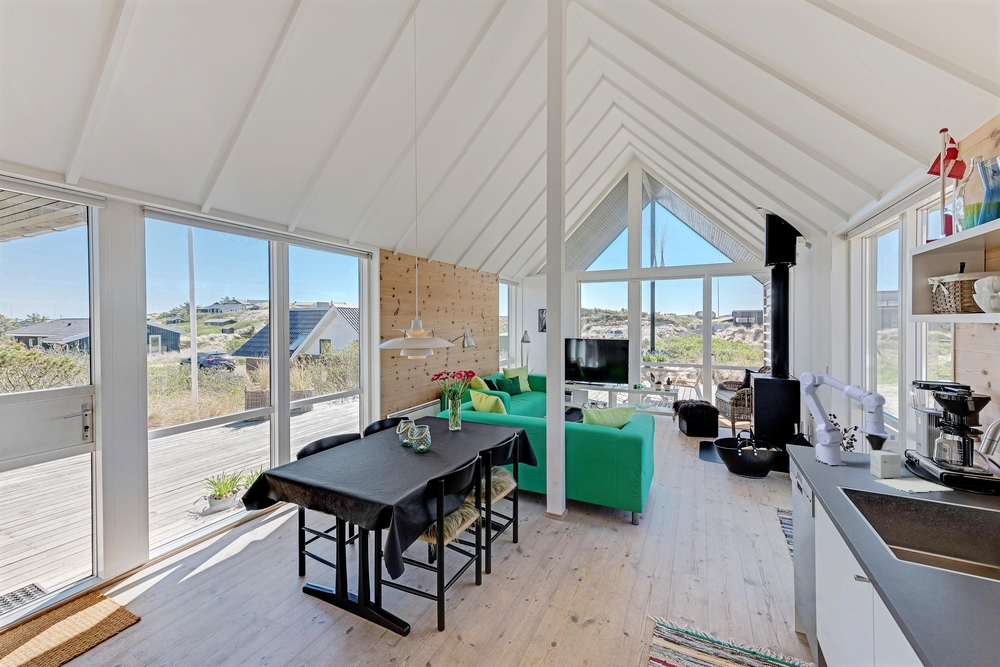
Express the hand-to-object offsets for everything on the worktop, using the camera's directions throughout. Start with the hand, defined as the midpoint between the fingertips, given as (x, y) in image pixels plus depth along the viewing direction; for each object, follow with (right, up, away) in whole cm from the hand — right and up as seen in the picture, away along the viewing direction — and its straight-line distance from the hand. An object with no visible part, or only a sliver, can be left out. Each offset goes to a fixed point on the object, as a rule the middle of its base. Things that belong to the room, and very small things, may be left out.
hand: (877, 452), depth 176 cm
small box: (+1, -9, -3) cm, 10 cm away
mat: (+1, -9, -14) cm, 17 cm away
